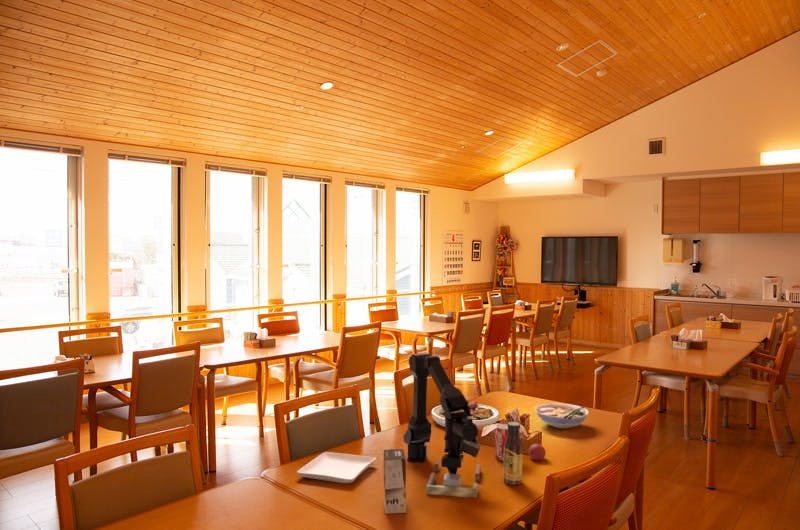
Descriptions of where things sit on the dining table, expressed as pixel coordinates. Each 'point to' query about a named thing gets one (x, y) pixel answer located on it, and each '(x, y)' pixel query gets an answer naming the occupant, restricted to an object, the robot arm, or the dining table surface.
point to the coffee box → (394, 481)
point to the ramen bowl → (561, 414)
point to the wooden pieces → (450, 489)
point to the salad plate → (336, 467)
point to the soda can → (500, 440)
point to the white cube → (452, 480)
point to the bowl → (478, 414)
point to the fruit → (537, 452)
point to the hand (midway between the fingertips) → (453, 479)
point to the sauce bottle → (513, 456)
